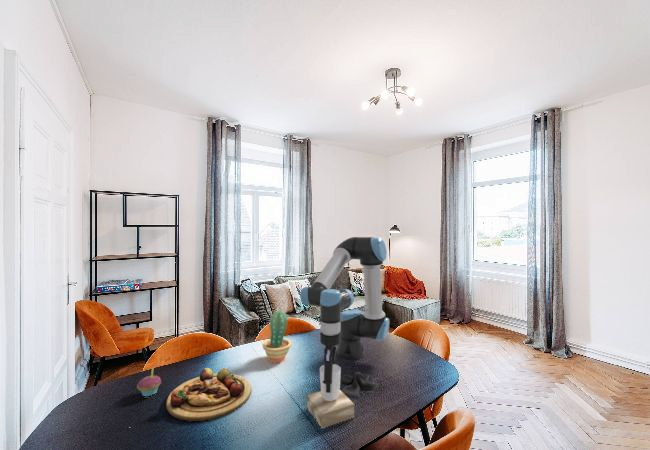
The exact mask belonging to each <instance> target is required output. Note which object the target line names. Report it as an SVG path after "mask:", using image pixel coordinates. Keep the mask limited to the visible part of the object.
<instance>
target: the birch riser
mask: <svg viewBox="0 0 650 450" xmlns="http://www.w3.org/2000/svg"><path fill="white" fill-rule="evenodd" d="M307 408H308V409H307ZM306 409H307V410H308V411H309V412H311V413H312V414H311V413H310V414H311V415H313V416H314V417H313V418H314V420H315V419H316V420H315V421H316V423H317V422H318V423H317V424H318V425H319V427H320V426H321V427H320V428H321V429H322V430H323V428H324V429H326V428H325V427H327V426H330V425H333V424H335V425H337V424H336V423H338V424H340V423H339V422H341V423H343V422H342V421H344V422H346V421H345V420H347V421H349V420H348V419H350V420H352V419H351V418H353V419H354V418H355V403H354V402H353V401H352V400H351V399H350V398H349V396H346V395H345V394H344V393H343V392H342V390H341V389H340V390H339V397H338V398H337V399H335V400H332V401H326V400H325V399H324V398H322V396H321V390H319V391H316V392H311V393H309V394H307V395H306ZM333 426H334V425H333ZM330 427H331V426H330ZM327 428H328V427H327Z"/></svg>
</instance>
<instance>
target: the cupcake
mask: <svg viewBox="0 0 650 450" xmlns="http://www.w3.org/2000/svg"><path fill="white" fill-rule="evenodd" d="M154 369H155V368H154V367H151V371H150V372H151V373H150V375H147V376H145V377H143V378H142V379H140V380H139V381H138V383H137V384H136V389H137V390H138V391H139V392H141V395H142V397H143V396H150V395H152V394H155V393H156V394H157V391H158V389H159V386H160V385H161V384H162V379H161V377H160V376H158V375H155V374H154ZM156 394H155V395H156Z"/></svg>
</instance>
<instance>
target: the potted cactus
mask: <svg viewBox="0 0 650 450" xmlns="http://www.w3.org/2000/svg"><path fill="white" fill-rule="evenodd" d="M288 318H289V316H288V314H287V313H286V312H285V311H283V310H282V309H280V310H278V309H276V310H275V311H274V312H273V313H272V315H270V318H269V329H270V338H269V339H267V340H264V342H263V343H262V349H263V351H265V354H266V356H267V358H268V359H269V360H268V362H270V363H274V364H277V363H282V362H284V361H285V360H286V356H287V355H288V353H289V350H290V348H291V347H292V341H291V340H290V339H288V338H284V337H285V332H286V329H287V327H288Z"/></svg>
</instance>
